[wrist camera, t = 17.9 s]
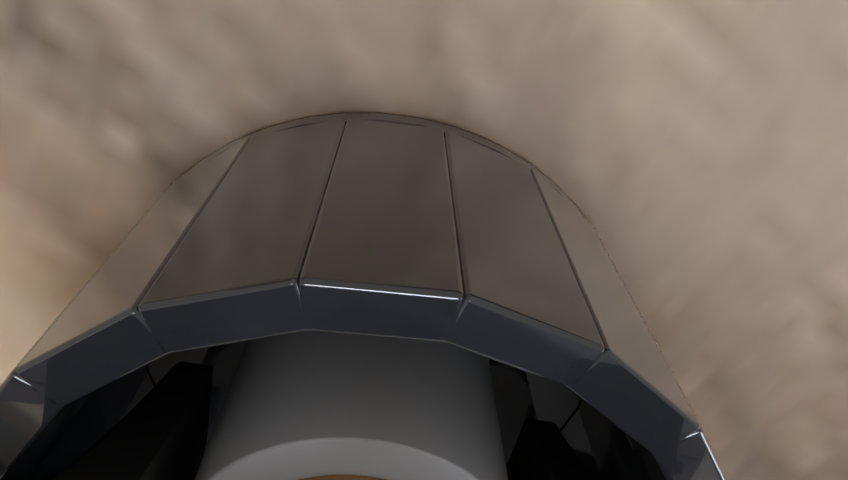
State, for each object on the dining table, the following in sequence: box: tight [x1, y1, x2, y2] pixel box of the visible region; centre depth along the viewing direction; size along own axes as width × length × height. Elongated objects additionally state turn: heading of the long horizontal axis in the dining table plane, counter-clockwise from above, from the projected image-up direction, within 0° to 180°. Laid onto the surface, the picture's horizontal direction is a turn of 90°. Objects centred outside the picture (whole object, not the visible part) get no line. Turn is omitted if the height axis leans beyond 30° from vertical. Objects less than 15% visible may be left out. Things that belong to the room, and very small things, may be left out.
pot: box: [0, 113, 726, 480], centre depth 12 cm, size 11×11×6 cm
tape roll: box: [194, 331, 508, 480], centre depth 12 cm, size 5×5×5 cm
